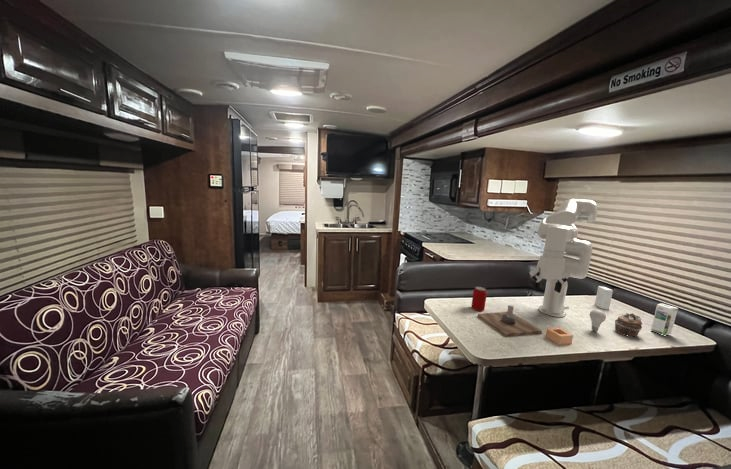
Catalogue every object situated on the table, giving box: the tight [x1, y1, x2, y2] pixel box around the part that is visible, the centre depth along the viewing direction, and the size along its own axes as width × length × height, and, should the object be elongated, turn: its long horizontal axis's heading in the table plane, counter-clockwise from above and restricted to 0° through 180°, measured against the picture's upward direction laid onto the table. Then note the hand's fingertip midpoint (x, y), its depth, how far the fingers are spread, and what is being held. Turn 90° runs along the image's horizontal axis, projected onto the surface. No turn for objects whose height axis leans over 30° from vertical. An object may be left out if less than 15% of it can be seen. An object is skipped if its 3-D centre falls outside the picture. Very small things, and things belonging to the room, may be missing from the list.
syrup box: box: [650, 303, 679, 336], centre depth 139 cm, size 6×6×14 cm
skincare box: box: [594, 285, 614, 310], centre depth 168 cm, size 6×4×12 cm
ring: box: [544, 326, 574, 346], centre depth 127 cm, size 7×7×4 cm
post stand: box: [476, 304, 543, 338], centre depth 138 cm, size 20×20×10 cm
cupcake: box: [614, 312, 643, 337], centre depth 137 cm, size 10×10×10 cm
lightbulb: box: [589, 308, 607, 332], centre depth 137 cm, size 6×6×11 cm
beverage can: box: [471, 286, 488, 312], centre depth 154 cm, size 7×7×12 cm
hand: (546, 290), depth 127 cm, fingers open, 9 cm apart
